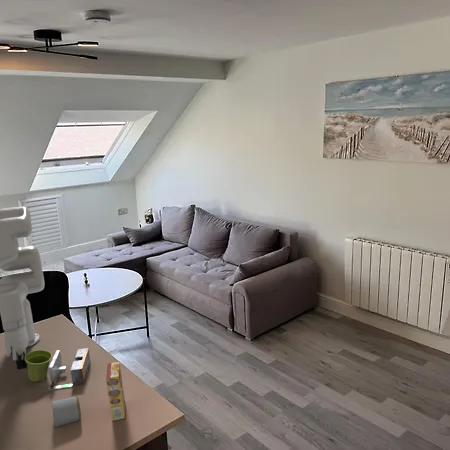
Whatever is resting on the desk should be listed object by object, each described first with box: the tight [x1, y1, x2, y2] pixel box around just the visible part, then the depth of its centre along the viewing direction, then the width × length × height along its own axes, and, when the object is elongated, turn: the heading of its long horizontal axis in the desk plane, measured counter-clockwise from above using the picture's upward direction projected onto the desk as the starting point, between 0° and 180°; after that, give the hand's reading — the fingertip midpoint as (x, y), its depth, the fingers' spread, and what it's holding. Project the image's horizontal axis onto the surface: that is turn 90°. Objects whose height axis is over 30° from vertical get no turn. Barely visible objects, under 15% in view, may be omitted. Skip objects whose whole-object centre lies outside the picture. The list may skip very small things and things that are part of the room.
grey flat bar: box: [48, 349, 68, 388], centre depth 155 cm, size 4×14×7 cm, turn 9°
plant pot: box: [25, 349, 53, 383], centre depth 155 cm, size 9×9×9 cm
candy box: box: [105, 361, 126, 422], centre depth 134 cm, size 9×4×15 cm, turn 13°
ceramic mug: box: [51, 396, 82, 428], centre depth 133 cm, size 11×8×8 cm
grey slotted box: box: [48, 347, 91, 391], centre depth 156 cm, size 12×16×6 cm
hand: (22, 367), depth 154 cm, fingers closed
